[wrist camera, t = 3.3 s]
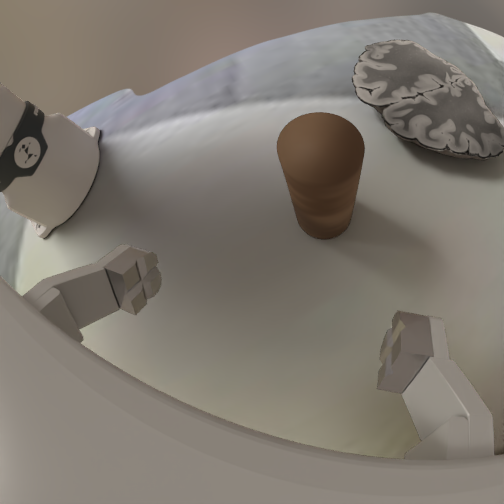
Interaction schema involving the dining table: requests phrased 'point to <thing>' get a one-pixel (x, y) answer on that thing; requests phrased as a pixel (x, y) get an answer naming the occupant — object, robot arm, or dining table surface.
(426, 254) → the dining table surface
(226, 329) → the dining table surface
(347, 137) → the walnut pepper mill
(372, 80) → the brain slice
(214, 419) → the robot arm
